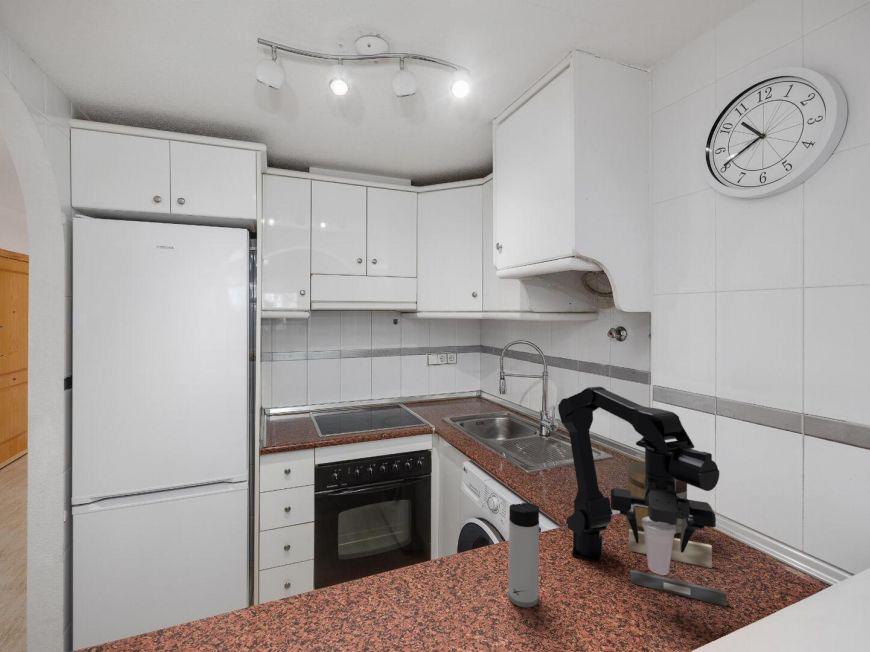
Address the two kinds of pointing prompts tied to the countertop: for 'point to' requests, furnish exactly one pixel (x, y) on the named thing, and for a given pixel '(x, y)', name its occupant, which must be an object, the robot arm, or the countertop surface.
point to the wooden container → (637, 490)
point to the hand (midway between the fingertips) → (659, 546)
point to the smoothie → (658, 544)
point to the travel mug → (523, 554)
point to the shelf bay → (691, 554)
